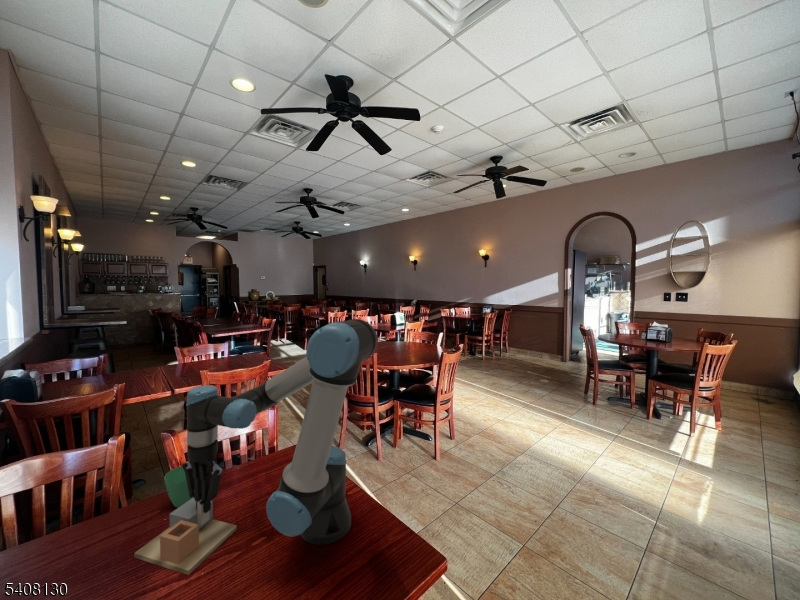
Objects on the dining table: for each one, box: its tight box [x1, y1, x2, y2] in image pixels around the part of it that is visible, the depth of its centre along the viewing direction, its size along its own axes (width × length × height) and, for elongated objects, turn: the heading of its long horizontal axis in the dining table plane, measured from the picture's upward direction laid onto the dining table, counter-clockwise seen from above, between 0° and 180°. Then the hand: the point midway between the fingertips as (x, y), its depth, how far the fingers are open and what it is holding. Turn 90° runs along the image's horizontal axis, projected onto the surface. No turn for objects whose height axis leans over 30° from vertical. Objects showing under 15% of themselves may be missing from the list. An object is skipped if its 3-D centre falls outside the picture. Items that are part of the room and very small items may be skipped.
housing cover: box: [169, 498, 214, 529], centre depth 96 cm, size 7×8×5 cm
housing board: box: [133, 518, 238, 576], centre depth 91 cm, size 18×16×6 cm
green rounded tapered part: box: [163, 465, 194, 509], centre depth 110 cm, size 15×10×10 cm
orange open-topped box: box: [160, 520, 199, 564], centre depth 87 cm, size 6×6×6 cm
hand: (203, 521), depth 95 cm, fingers closed
